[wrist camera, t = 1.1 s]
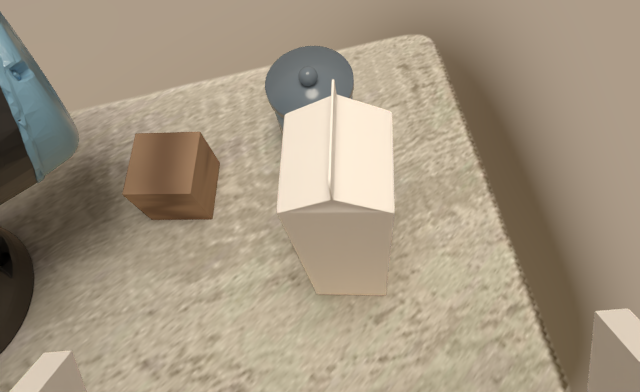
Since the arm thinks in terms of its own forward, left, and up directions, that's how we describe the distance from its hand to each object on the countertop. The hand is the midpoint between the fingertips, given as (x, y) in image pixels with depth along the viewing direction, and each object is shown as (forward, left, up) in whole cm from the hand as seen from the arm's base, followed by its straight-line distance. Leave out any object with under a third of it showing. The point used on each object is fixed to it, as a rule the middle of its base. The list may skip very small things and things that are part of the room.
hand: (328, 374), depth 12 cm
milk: (-4, +10, -28) cm, 30 cm away
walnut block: (-21, +13, -28) cm, 37 cm away
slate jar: (-10, +22, -28) cm, 37 cm away
